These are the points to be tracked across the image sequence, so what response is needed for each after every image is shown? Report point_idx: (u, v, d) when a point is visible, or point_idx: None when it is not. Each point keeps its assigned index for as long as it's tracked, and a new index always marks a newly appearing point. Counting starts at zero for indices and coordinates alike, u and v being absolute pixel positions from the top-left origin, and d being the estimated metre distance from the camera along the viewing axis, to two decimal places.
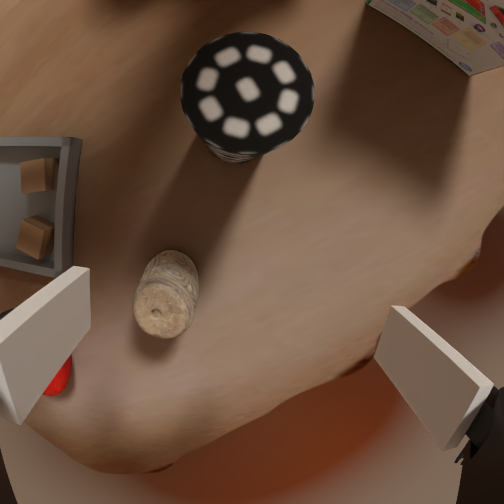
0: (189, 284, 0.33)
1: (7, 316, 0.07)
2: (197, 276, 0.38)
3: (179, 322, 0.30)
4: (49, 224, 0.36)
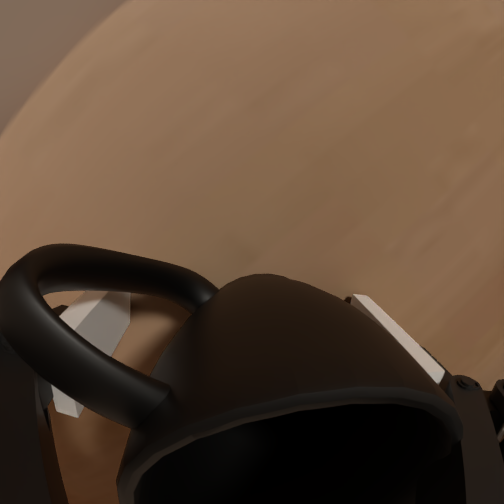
0: None
1: (65, 312, 0.08)
2: None
3: None
4: None
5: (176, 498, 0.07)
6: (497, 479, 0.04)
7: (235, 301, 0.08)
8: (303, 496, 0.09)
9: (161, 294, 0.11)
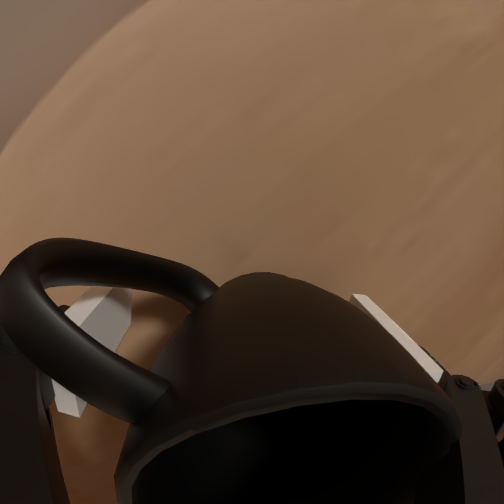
0: None
1: (67, 312, 0.08)
2: None
3: None
4: None
5: (173, 495, 0.07)
6: (496, 479, 0.04)
7: (235, 298, 0.08)
8: (301, 495, 0.09)
9: (161, 291, 0.11)
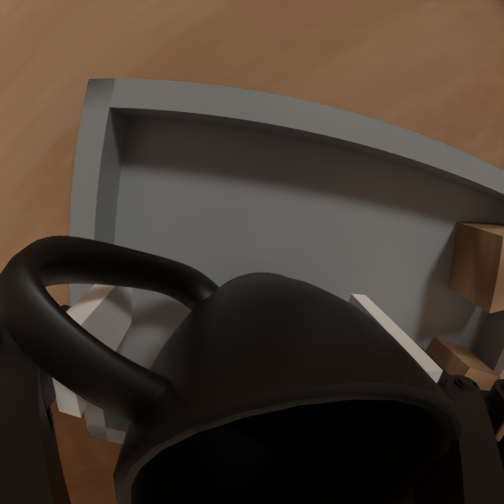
0: None
1: (68, 312, 0.08)
2: None
3: None
4: (470, 354, 0.17)
5: (172, 495, 0.07)
6: (495, 479, 0.04)
7: (236, 297, 0.08)
8: (299, 495, 0.09)
9: (162, 290, 0.11)
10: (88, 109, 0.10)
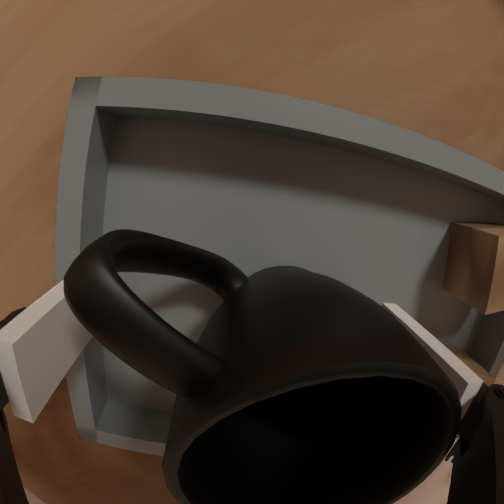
0: None
1: (20, 315, 0.07)
2: None
3: None
4: (465, 356, 0.17)
5: (203, 468, 0.08)
6: None
7: (274, 289, 0.09)
8: (313, 472, 0.10)
9: (198, 279, 0.12)
10: (74, 108, 0.10)
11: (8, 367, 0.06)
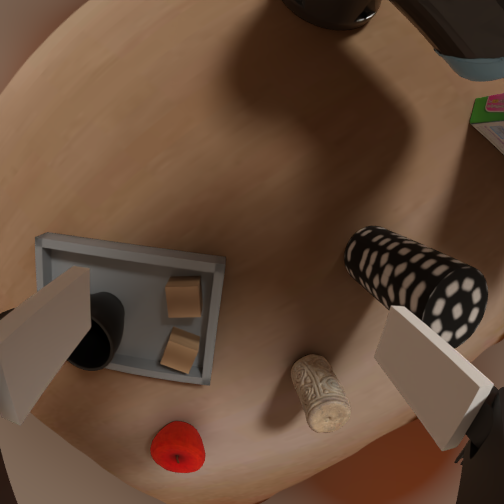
0: None
1: (7, 316, 0.07)
2: None
3: (343, 422, 0.36)
4: (193, 338, 0.42)
5: None
6: None
7: None
8: (99, 356, 0.36)
9: None
10: (36, 247, 0.36)
11: None
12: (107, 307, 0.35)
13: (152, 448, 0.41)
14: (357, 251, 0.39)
